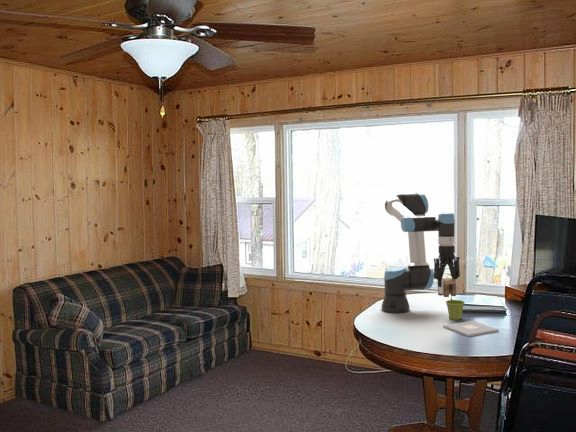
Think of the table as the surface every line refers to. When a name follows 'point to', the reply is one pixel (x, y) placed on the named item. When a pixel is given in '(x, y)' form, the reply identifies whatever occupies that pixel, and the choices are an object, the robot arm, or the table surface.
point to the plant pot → (455, 309)
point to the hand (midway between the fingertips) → (447, 292)
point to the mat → (470, 328)
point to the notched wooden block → (448, 287)
